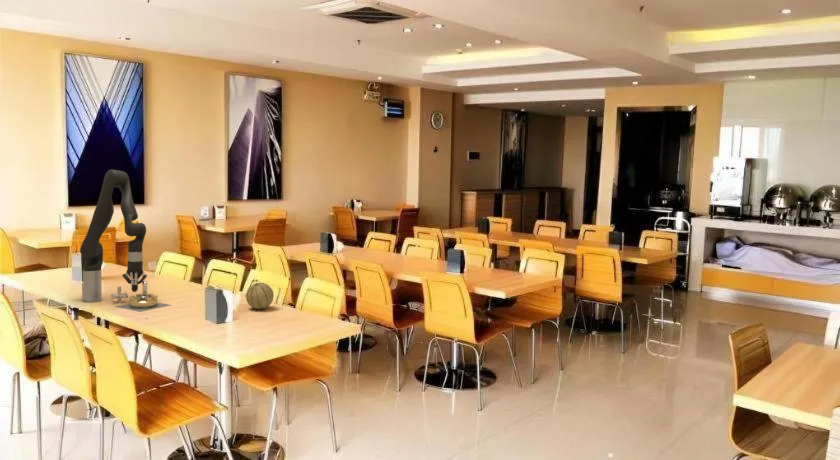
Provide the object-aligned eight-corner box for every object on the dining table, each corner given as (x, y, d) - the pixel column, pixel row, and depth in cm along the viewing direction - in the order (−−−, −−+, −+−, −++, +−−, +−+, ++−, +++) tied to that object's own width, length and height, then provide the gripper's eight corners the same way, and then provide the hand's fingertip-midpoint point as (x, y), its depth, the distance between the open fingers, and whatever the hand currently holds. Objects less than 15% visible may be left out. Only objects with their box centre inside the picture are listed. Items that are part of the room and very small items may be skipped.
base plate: (114, 309, 345) (114, 305, 345) (146, 302, 363) (146, 299, 363) (140, 314, 336) (140, 311, 336) (171, 307, 353) (171, 304, 353)
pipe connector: (133, 303, 359) (133, 286, 358) (120, 307, 350) (120, 289, 349) (118, 302, 362) (118, 284, 361) (105, 305, 352) (104, 287, 351)
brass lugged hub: (125, 304, 349) (124, 282, 348) (150, 301, 359) (150, 279, 358) (135, 309, 339) (135, 286, 338) (162, 305, 349) (162, 283, 348)
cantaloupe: (278, 307, 364) (278, 281, 363) (265, 313, 350) (265, 285, 349) (254, 304, 368) (254, 278, 367) (240, 310, 354) (240, 283, 353)
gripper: (119, 260, 347) (119, 292, 349) (145, 261, 348) (145, 293, 350) (124, 258, 354) (124, 289, 356) (150, 259, 355) (149, 290, 357)
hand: (134, 291), depth 353 cm, fingers closed
